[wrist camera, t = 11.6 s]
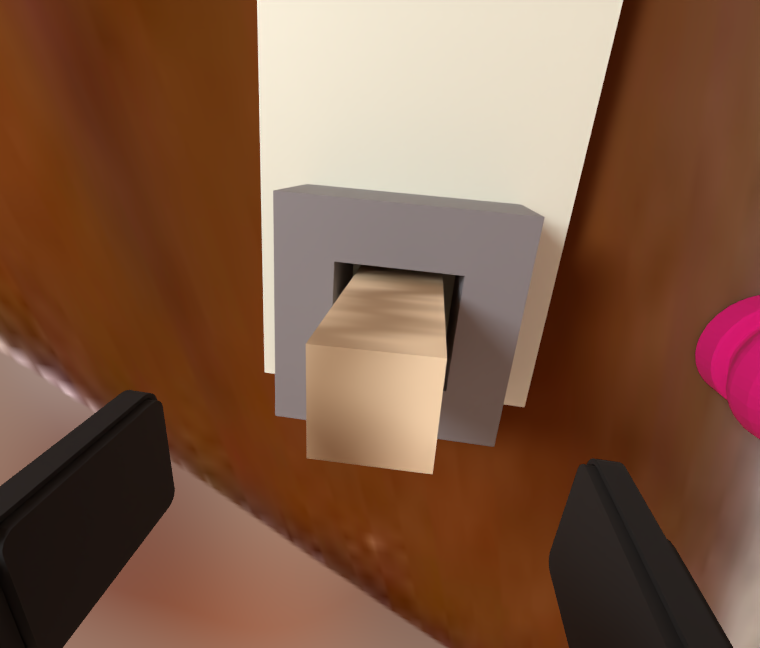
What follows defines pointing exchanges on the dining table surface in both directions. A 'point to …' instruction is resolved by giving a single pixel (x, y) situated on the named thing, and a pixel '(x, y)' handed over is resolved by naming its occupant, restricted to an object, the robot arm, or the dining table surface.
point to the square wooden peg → (378, 372)
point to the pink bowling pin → (734, 360)
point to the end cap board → (425, 173)
